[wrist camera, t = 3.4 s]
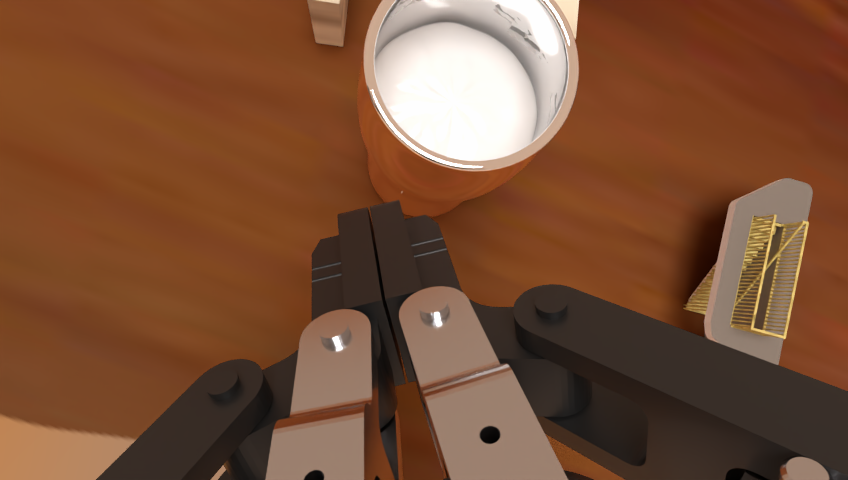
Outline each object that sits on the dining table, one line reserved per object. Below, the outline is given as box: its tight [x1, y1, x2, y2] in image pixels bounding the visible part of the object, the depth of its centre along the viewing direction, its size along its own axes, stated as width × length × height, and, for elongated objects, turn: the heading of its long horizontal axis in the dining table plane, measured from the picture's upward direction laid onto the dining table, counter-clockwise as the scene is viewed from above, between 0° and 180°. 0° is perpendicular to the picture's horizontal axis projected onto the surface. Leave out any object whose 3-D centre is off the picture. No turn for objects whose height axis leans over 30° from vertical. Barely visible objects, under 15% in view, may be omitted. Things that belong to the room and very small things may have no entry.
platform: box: [683, 178, 813, 365], centre depth 30 cm, size 12×18×7 cm, turn 165°
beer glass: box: [357, 0, 579, 217], centre depth 25 cm, size 7×7×15 cm
